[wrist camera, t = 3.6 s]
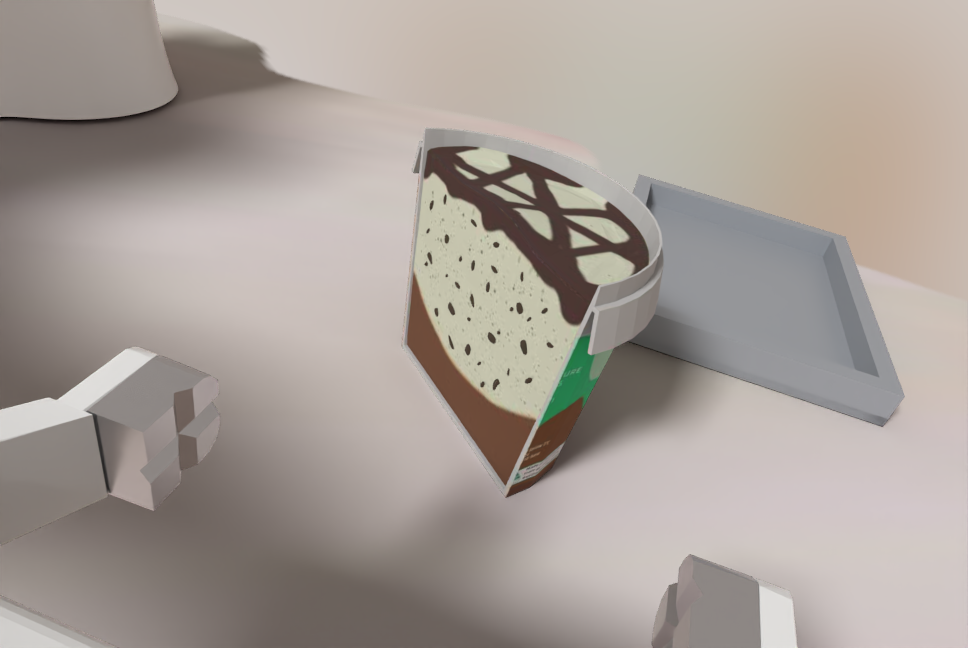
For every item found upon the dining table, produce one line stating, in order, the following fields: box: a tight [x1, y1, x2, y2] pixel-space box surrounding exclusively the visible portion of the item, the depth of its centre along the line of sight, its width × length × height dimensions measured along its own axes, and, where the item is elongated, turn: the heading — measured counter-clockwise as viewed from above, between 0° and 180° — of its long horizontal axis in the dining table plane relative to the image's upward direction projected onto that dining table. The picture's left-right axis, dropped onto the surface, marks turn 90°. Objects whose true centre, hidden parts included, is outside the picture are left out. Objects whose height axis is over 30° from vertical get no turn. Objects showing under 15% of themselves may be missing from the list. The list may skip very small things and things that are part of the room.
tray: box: [629, 175, 905, 426], centre depth 42 cm, size 15×19×2 cm
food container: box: [402, 128, 664, 498], centre depth 27 cm, size 12×6×10 cm, turn 30°
